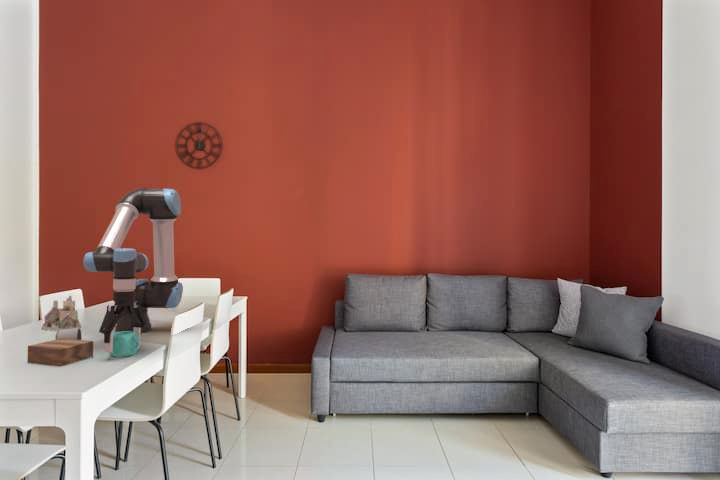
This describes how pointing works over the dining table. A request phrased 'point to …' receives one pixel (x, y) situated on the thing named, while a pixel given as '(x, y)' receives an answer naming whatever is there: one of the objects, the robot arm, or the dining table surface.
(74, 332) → the ceramic mug
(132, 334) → the decorative dice
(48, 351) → the walnut block
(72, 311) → the ceramic cottage
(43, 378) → the dining table surface
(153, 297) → the robot arm
